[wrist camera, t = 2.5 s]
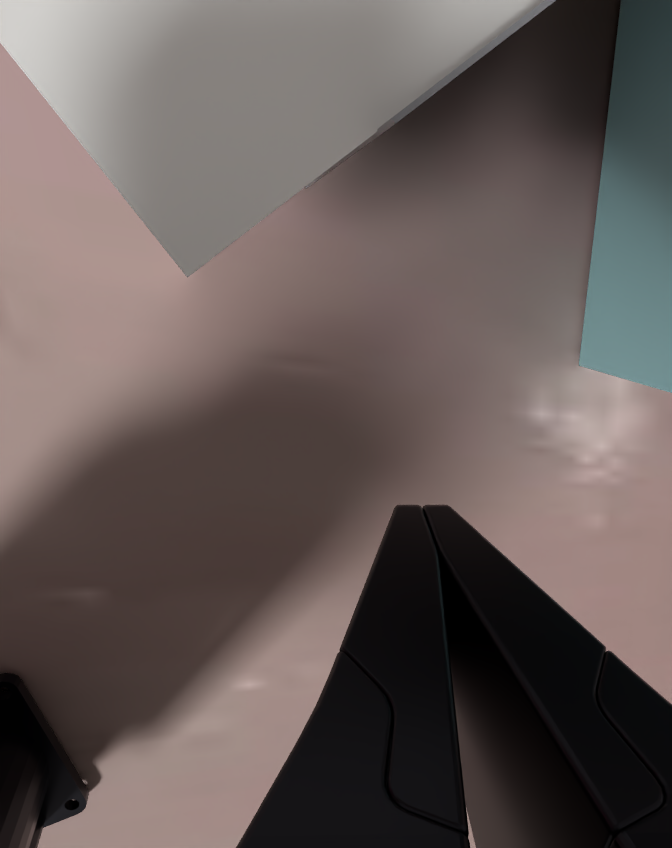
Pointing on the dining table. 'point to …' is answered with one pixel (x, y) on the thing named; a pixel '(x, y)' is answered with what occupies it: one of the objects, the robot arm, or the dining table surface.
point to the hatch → (635, 208)
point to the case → (239, 93)
